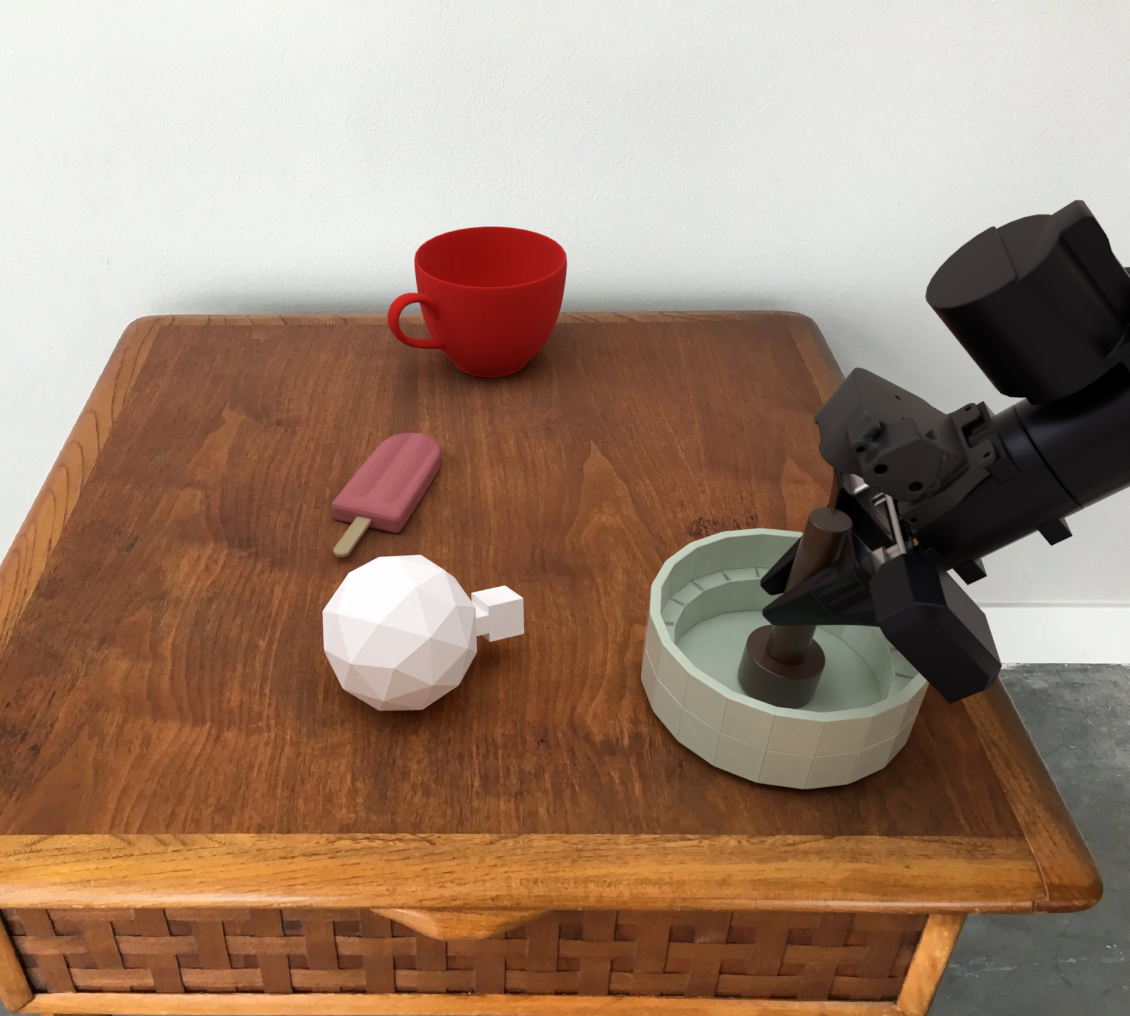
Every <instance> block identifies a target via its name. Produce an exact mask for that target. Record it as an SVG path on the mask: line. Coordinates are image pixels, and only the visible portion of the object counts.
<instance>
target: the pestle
mask: <svg viewBox="0 0 1130 1016" xmlns="http://www.w3.org/2000/svg"><path fill="white" fill-rule="evenodd" d="M852 528H853V522H852V520H851V518H850V517H849V516H848V515H847V514H845V513H844V512H842V511H840V510H838V509H835V508H830V507H827V506H818V507H815V508H813V509H812V510H810V512H809V513H808V516H807V519H806V523H805V525H804V529H803V535H802V538H801V541H800V544H799V547H798V550H797V553H796V556H795V559H794V562H793V565H792V568H791V571H790V575H789V578H788V581H787V584H786V587H785V590H784V593H785V592H787V591H789V590H790V589H792V588H793V587H795V586H797V585H798V584H800V583H801V582H803V581H805V580H806V579H808V578H810V577H811V576H813V575H814V574H816V573H818V572H819V571H821V570H822V569H824V568H826V567H827V566H829V565H831V564H832V563H834V562H835V561H836V560H837V559H838V558H839V555H840V552H841V549H842V546H843V543H844V540H845V536H846V533H847V531H848V530H849V529H851V530H852ZM784 593H783V594H784ZM816 628H817V625H798V626H774V625H765V626H761V627H759V628H757V629H755V630H754V631H753V632H752V633H751V634H750V635H749V636H748V639H747V642H746V645H745V648H744V651H743V655H742V658H741V661H740V664H739V668H738V678H739V681H740V684H741V686H742V687H743V688H744V690H745V691H746V692H747V693H748V694H749V695H750V696H751V697H753V698H754V699H756V700H759V701H762V702H765V703H768V704H770V705H773V706H776V707H782V708H790V709H795V708H799V707H802V706H804V705H806V704H807V703H808V702H810V700H811V699H812V698H813V696H814V693H815V691H816V688H817V685H818V683H819V680H820V678H821V675H822V672H823V670H824V667H825V663H826V659H825V654H824V652H823V649H822V648H821V646H820V645H819V644H818V643H817V642H816V641H815V640H814V639H813V636H814V633H815V630H816Z"/></svg>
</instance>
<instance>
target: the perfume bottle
mask: <svg viewBox="0 0 1130 1016" xmlns="http://www.w3.org/2000/svg"><path fill="white" fill-rule="evenodd" d="M524 605H525V604H524V597H522V596H521V595H519V593H517V592H515V591H514V590H512V589H511V588H509V587H508V586H507V585H501V586H497V587H492V588H487V589H483V590H478V591H474V592H471V598H470V597H469V596H468V594H467V593H466V591H465V589H463V587H462V586H461V585H460V583H459V582H458V580H457V579H456V578H455V576H453V575H452V574H450V573H449V572H447V570H445V569H444V568H442V567H440V566H439V565H437V564H436V563H435V562H433V561H431V560H430V559H428V558H426V557H425V556H424V555H422V554H411V555H408V554H407V555H390V556H378V557H376V558H374V559H373V560H370V561H368V562H367V563H365V564H363V565H360V566H359V567H358V568H355V569H354V570H352V571H349V572H348V573H347V575H346V576H345V578H344V579H343V581H342V582H341V584H340V585H339V587H337V589H336V591H335V592H334V594H333V595H332V597H331V598H330V599H329V601H328V603H327V604H326V605H325V607H324V609H323V610H322V632H323V650H324V651H323V652H324V653H325V656H326V659H327V661H328V663H329V665H330V666H331V668H332V670H333V672H334V674H335V676H336V678H337V680H338V682H339V684H340V686H341V688H342V689H343V690H344V691H345V692H347V693H349V694H350V695H352V696H354V697H355V698H357V699H359V700H361V702H364V703H366V704H367V705H369V706H371V707H372V708H374V709H375V710H376V711H381V712H383V711H385V712H386V711H422V710H425V709H426V708H427V707H428V706H430V705H432V704H433V703H435V702H436V701H437V700H440V699H441V698H442V697H444V696H445V695H446V694H448V693H449V692H451V691H452V690H454V689H455V688H457V687H458V686H460V684H461V682H462V680H463V679H464V677H465V675H466V673H467V671H468V669H469V668H470V666H471V664H472V663H473V660H474V658H475V657H476V655H477V653H478V643H477V642H478V641H477V640H478V639H477V637H480V636H482V637H483V638H484V639H485V640H487V641H488V642H489V643H491V642H496V641H499V640H503V639H508V638H512V637H517V636H520V635H524V634H525V624H524V623H525V613H524V608H525V607H524Z"/></svg>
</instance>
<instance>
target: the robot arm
mask: <svg viewBox="0 0 1130 1016" xmlns="http://www.w3.org/2000/svg"><path fill="white" fill-rule="evenodd" d="M925 290H926V291H925V296H924V298H925V301H926V303H927V304H928V305H929V306H930V308H931V309H932V310H933V312H934V313H935V314H936V315H937V316H938V318H939V319H940V320H941V322H942V323H943V325H944V326H946V328H947V329H948V331H949V332H950V333H951V334H952V335H953V337H954V338H955V340H957V342H958V343H959V345H961V347H962V348H963V350H964V351H965V353H967V354H968V356H969V357H970V358H971V360H972V361H973V362H974V363H975V364H976V366H977V367H978V369H979V370H980V371H981V372H982V373H983V374H984V376H985V377H986V378H987V380H988V381H989V382H990V384H991V385H992V386H993V387H994V388H995V390H996V391H997V392H998V393H1000V395H1003V396H1006V397H1008V398H1015V399H1021V400H1019V401H1018V402H1016V403H1014V404H1012V405H1010V406H1008V407H1007V408H1004V409H1003V410H1001V411H999V412H997V413H996V414H995V413H994V412H993V411H992V410H991V409H992V408H990V407H989V406H988V404H987V403H986V402H985V401H984V400H982V401H980V402H978V403H977V404H976V403H975V402H970V403H966V404H965V405H963V406H961V407H960V408H958V409H956V410H953V411H952V412H949V413H945V412H944V411H941V410H940V409H938V408H937V407H935V406H933V405H932V404H930V403H929V402H928V401H927V400H925V399H924V398H922V397H920V396H918V395H917V394H915V393H913V392H911V391H909V390H907V389H905V388H903V387H901V386H899V385H897V384H896V383H893V382H891V381H889V380H888V379H886V378H884V377H882V376H880V375H878V374H876V373H874V372H872V371H870V370H868V369H865V368H863V367H854V368H853V369H852V370H851V372H849V374H848V375H847V376H846V377H845V379H843V381H842V382H841V383H840V385H839V386H838V387H837V388H836V389H835V391H833V393H832V394H831V395H830V396H829V398H828V399H827V400H826V401H825V402H824V403H823V404H822V406H821V407H820V408H819V409H818V411H817V412H816V413H815V414H814V416H813V419H814V424H815V425H817V426H818V431H819V437H820V441H819V443H818V449H819V454H820V456H821V457H822V458H823V461H825V462H826V463H827V464H828V465H829V466H830V467H832V472H833V474H832V475H833V476H832V483H831V489H830V494H829V499H828V503H827V505H826V507H830V508H835V509H838V510H840V511H842V512H844V513H845V514H847V515H848V516H849V517H850V518H851V520H852V522H853V528H852V530H851V529H849V530H848V531H847V533H846V536H845V540H844V543H843V546H842V549H841V552H840V555H839V558H838V559H837V560H836V561H835V562H834V563H832V564H831V565H829V566H827V567H826V568H824V569H822V570H821V571H819V572H818V573H816V574H814V575H813V576H811V577H810V578H808V579H806V580H805V581H803V582H801V583H800V584H798V585H797V586H795V587H793V588H792V589H790V590H789V591H787V592H785V593H784V590H785V587H786V584H787V581H788V578H789V575H790V571H791V568H792V565H793V562H794V559H795V556H796V553H797V550H798V547H799V544H800V541H801V538H802V536H801V537H800V538H799V539H798V540H797V541H796V542H795V543H794V544H793V545H792V547H791V548H790V549H789V550H788V551H787V552H786V553H785V554H784V555H783V556H782V557H781V558H780V559H779V560H778V561H777V562H776V563H775V565H774V566H773V567H772V568H771V569H770V570H769V571H768V572H767V573H766V574H765V575H764V576H763V577H762V578H761V580H760V586H761V587H762V588H763V589H764V590H765V591H766V592H767V593H768V594H769V595H778V594H782V595H781V596H779V597H778V598H777V599H775V600H774V601H773V602H771V603H770V604H769V605H767V606H766V607H765V608H763V610H762V615H763V617H764V618H765V619H766V620H767V621H768V622H769V623H770V624H772V625H774V626H798V625H858V626H872V627H880V629H881V631H882V633H883V634H884V636H885V638H886V639H887V640H888V641H889V642H890V643H891V644H892V645H893V646H894V647H895V648H896V649H897V650H898V651H899V652H900V653H901V654H902V655H903V656H904V657H905V658H906V660H907V661H908V662H909V663H910V664H911V665H912V666H913V667H914V668H915V669H916V670H917V671H918V672H919V673H920V674H921V675H922V676H923V677H924V678H925V679H926V680H927V681H928V682H929V685H931V687H932V688H934V690H935V691H936V692H937V693H938V694H939V695H940V696H941V697H942V698H943V699H944V700H945V701H946V702H947V703H948V704H949V705H952V704H954V703H957V702H959V701H961V700H964V699H967V698H969V697H971V696H973V695H976V694H978V693H979V694H980V693H981V692H984V691H986V690H988V689H990V688H993V687H994V685H995V683H996V680H997V679H998V677H999V674H1000V672H1001V669H1002V667H1003V665H1002V662H1001V658H1000V655H999V652H998V648H997V645H996V643H995V639H994V636H993V634H992V631H991V627H990V624H989V622H988V619H987V615H986V613H985V612H984V611H983V610H982V609H981V608H980V607H979V605H977V603H976V602H975V601H974V600H973V599H972V598H971V597H970V596H969V594H968V593H967V592H966V591H965V590H964V588H963V587H961V585H960V584H959V583H958V582H957V581H956V580H955V579H954V578H953V577H952V576H951V575H950V574H949V571H951V570H953V571H954V572H955V574H957V576H958V577H959V578H960V579H961V580H962V581H963V583H964V584H966V586H970V585H971V584H974V583H976V582H978V581H980V580H982V579H984V578H987V577H988V574H987V571H986V568H985V565H984V563H983V558H985V557H987V556H989V555H991V554H993V553H996V552H997V551H999V550H1002V549H1004V548H1005V547H1007V546H1010V545H1013V544H1014V543H1016V542H1018V541H1021V540H1023V539H1024V538H1027V537H1029V536H1031V535H1033V534H1035V533H1037V532H1038V533H1039V534H1040V535H1041V536H1042V537H1043V538H1044V540H1046V542H1047V543H1048V544H1049V545H1050V547H1052V546H1054V545H1056V544H1058V543H1061V542H1063V541H1065V540H1067V539H1070V538H1072V537H1073V533H1072V531H1071V529H1070V527H1069V525H1068V522H1067V520H1066V519H1067V518H1068V517H1070V516H1072V515H1074V514H1076V513H1078V512H1081V511H1083V510H1084V509H1086V508H1089V507H1090V506H1092V505H1093V506H1094V505H1095V504H1097V503H1098V502H1101V501H1103V500H1105V499H1107V498H1109V497H1111V496H1113V495H1115V494H1117V493H1119V492H1122V491H1124V490H1125V489H1128V488H1130V266H1123V264H1122V263H1121V261H1120V260H1119V259H1118V257H1117V256H1116V255H1115V253H1114V252H1113V249H1112V246H1111V242H1110V239H1109V237H1108V235H1107V233H1106V231H1105V230H1104V229H1103V227H1102V225H1101V224H1100V222H1099V221H1098V219H1097V218H1096V216H1095V215H1094V213H1093V212H1092V210H1091V209H1090V208H1089V206H1088V205H1087V203H1086V202H1085V200H1084V199H1074V200H1073V201H1071V202H1070V203H1068V204H1067V205H1065V206H1064V207H1061V208H1060V209H1058V210H1056V212H1054V213H1052V214H1048V213H1037V214H1032V215H1026V216H1023V217H1021V218H1020V217H1019V218H1018V219H1014V220H1012V221H1009V222H1007V223H1005V224H1003V225H1001V226H999V227H996V226H994V225H993V226H990V227H988V228H986V229H985V230H983V231H981V232H980V233H978V234H976V235H975V236H973V237H972V238H971V239H968V241H967V242H965V243H964V244H963V245H961V246H960V247H959V248H957V250H955V251H954V252H953V253H952V254H951V255H949V257H948V258H947V259H946V260H945V261H944V262H943V263H942V264H941V265H940V266H939V267H938V269H937V270H936V271H935V273H933V275H932V277H931V278H930V280H929V282H928V284H927V286H926V289H925ZM915 540H916V541H917V544H915ZM783 593H784V594H783Z"/></svg>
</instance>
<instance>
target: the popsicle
mask: <svg viewBox="0 0 1130 1016" xmlns="http://www.w3.org/2000/svg"><path fill="white" fill-rule="evenodd" d="M441 467H442V449H441V445H440V444H439V442H437V441H436V439H435V438H434V437H431V436H430V435H427V434H426V433H420V432H403V433H399V434H394V435H391V436H390V437H388V438H386V439H385V440H383V441H381V442H380V443H379V444H378V445H377V447H375V449H374V450H373V452H372V453H371V454H370V455H369V456H368V458H367V459H366V460H365V461H364V462H363V463H362V465H361V466H360V467H359V469H357V471H356V472H355V473H354V474H353V476H352V477H351V478H350V479H349V481H348V482H347V483H346V484H345V486H344V487H343V488H342V489H341V491H340V492H339V493H338V495H337V496H336V497H335V498H334V500H333V501H332V503H331V513H332V518H333V519H334V520H336V521H340V522H345V523H349V524H350V526H349V527H348V528H347V530H346V531H345V532H344V533H343V535H342V536H341V538H340V539H339V540H338V542H337V543H336V545H335V546H334V547H333V549H332V551H333V555H334V556H336V557H338V558H345V557H348V556H349V555H350V554H351V552H352V551H353V550H354V548H355V547H356V545H357V544H358V542H359V541H360V540H361V538H362V537H363V535H364V534H365V532H366V531H367V530H368V528H370V529H376V530H380V531H384V532H388V533H393V534H399V533H401V531H402V530H403V528H404V526H405V525H406V523H407V522H408V521H409V519H410V518H411V516H412V514H413V513H414V511H415V510H416V508H417V506H418V505H419V504H420V502H421V501H422V500H423V497H424V496H425V494H426V492H427V490H428V489H429V487H430V485H431V484H432V482H433V481H434V479H435V478H436V476H437V474H438V472H440V469H441Z"/></svg>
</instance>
